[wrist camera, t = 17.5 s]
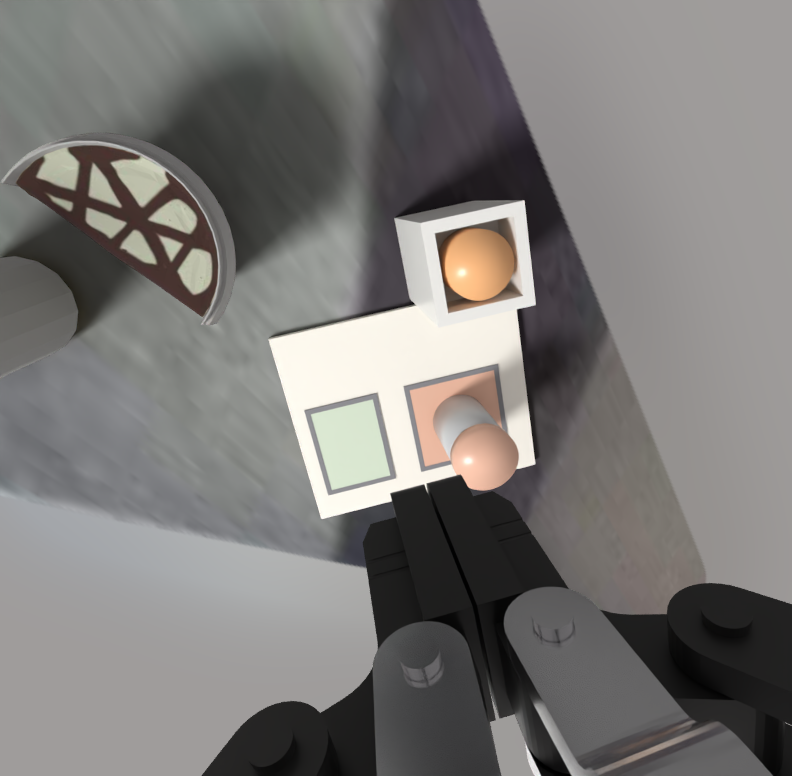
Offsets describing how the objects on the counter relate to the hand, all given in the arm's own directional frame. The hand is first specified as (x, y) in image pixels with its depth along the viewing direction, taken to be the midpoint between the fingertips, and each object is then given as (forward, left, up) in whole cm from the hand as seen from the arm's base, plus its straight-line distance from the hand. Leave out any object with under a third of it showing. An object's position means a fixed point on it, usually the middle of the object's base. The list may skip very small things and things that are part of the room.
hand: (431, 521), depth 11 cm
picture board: (+10, +3, -31) cm, 33 cm away
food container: (-8, -9, -31) cm, 33 cm away
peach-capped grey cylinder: (+12, +7, -30) cm, 33 cm away
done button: (-1, +8, -23) cm, 25 cm away
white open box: (-1, +8, -31) cm, 32 cm away
